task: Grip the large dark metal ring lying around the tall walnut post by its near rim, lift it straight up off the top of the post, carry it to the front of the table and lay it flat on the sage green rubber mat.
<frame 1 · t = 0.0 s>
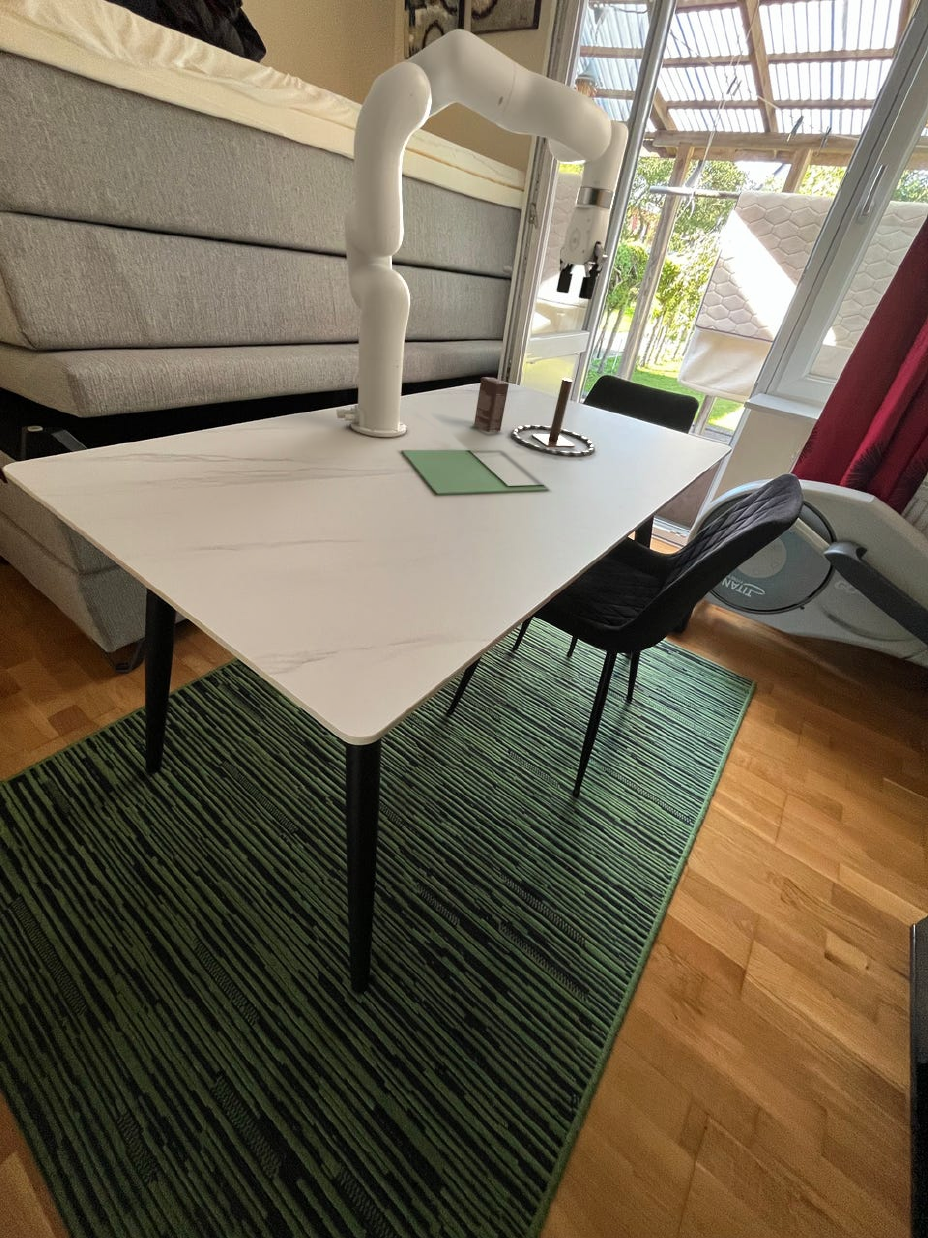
hand: (573, 295, 120), 31 cm above the table, tool pointing down, fingers open, 9 cm apart
post: (552, 444, 130), on the table
ring: (552, 441, 129), point 1 cm above the table
box: (486, 431, 132), on the table
mat: (472, 470, 107), on the table
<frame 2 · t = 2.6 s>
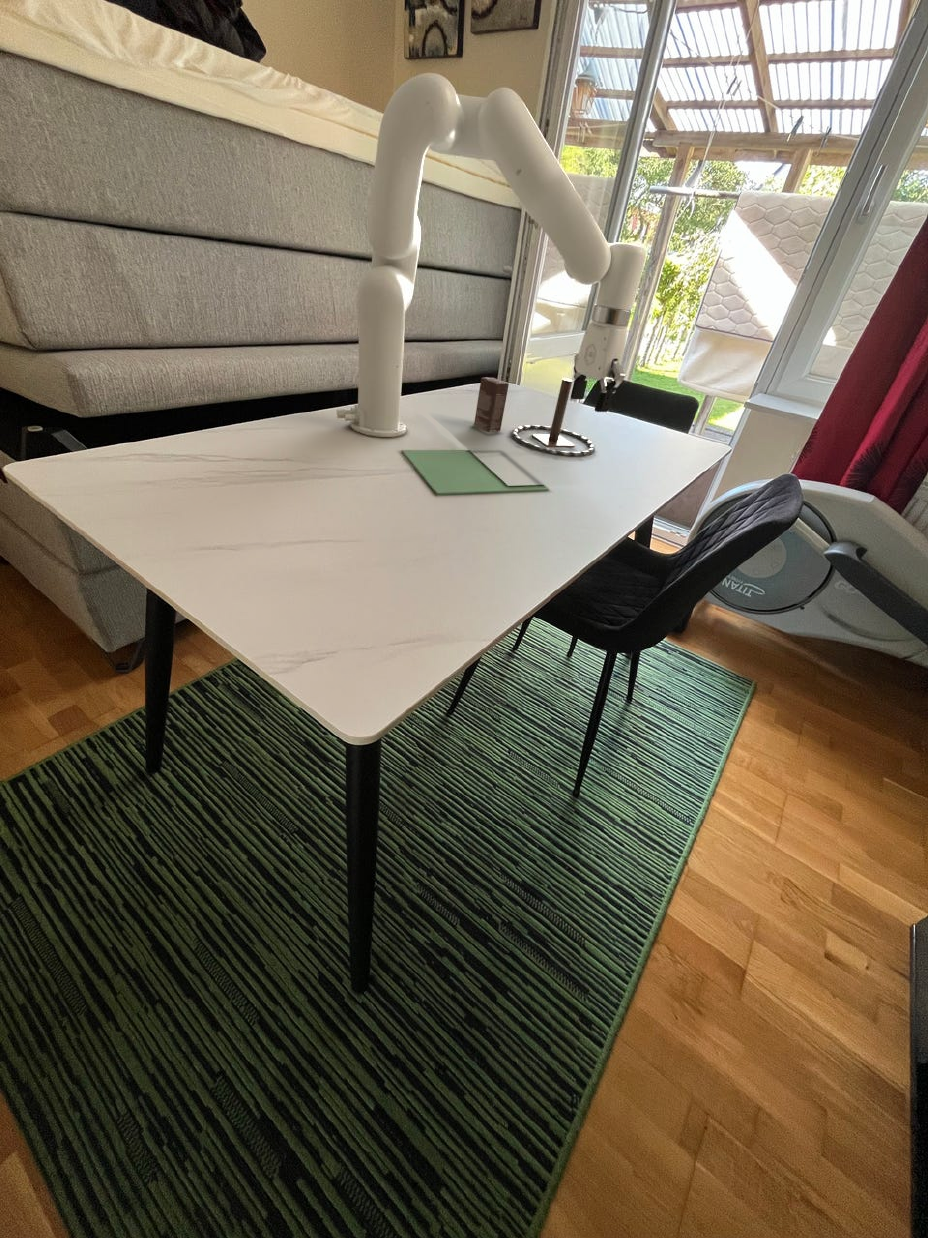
hand: (588, 404, 115), 12 cm above the table, tool pointing down, fingers open, 9 cm apart
nothing on the table moved.
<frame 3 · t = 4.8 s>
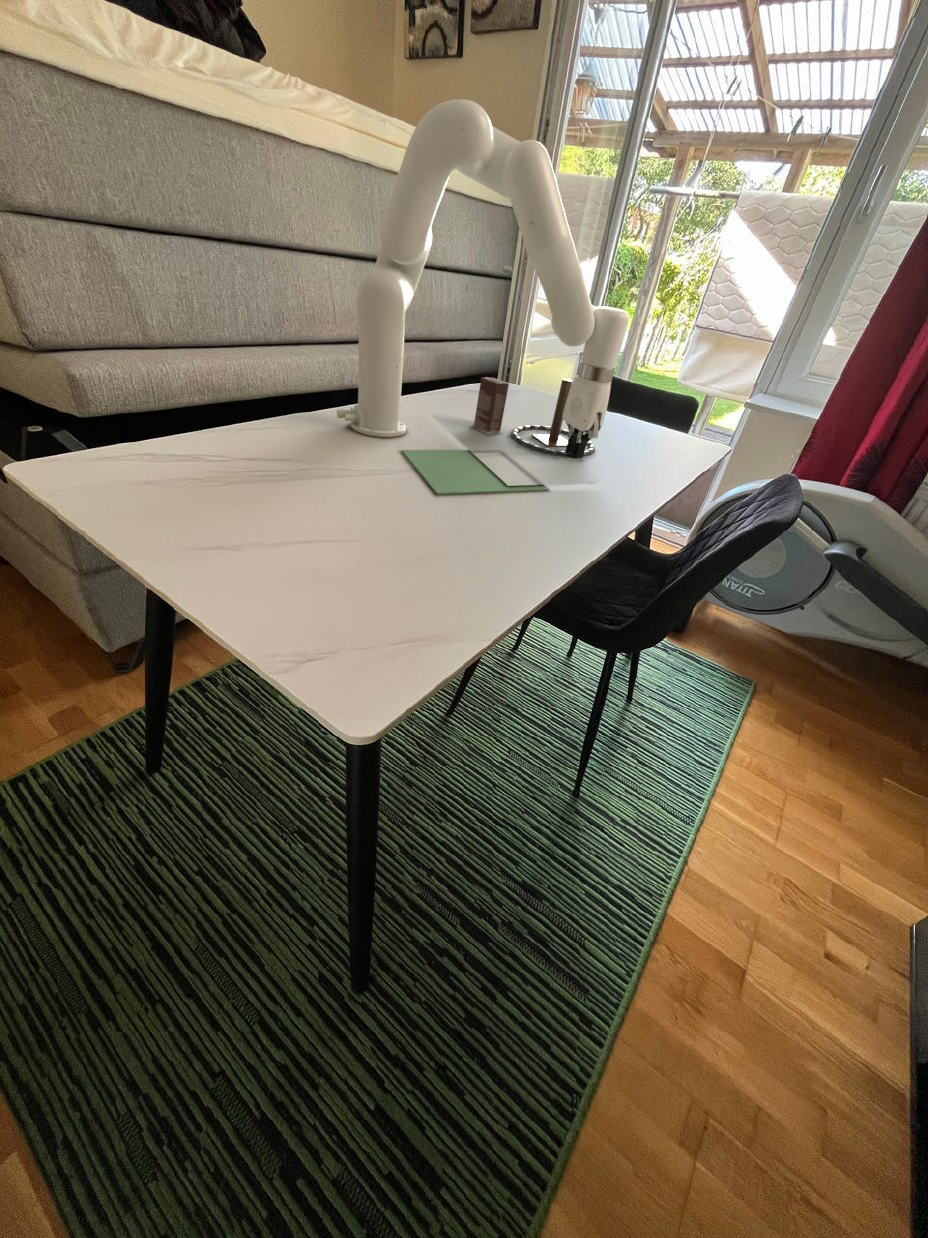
hand: (573, 456, 122), 1 cm above the table, tool pointing down, fingers closed on ring, 1 cm apart
ring: (552, 441, 129), point 1 cm above the table, touching gripper
everything else where it was.
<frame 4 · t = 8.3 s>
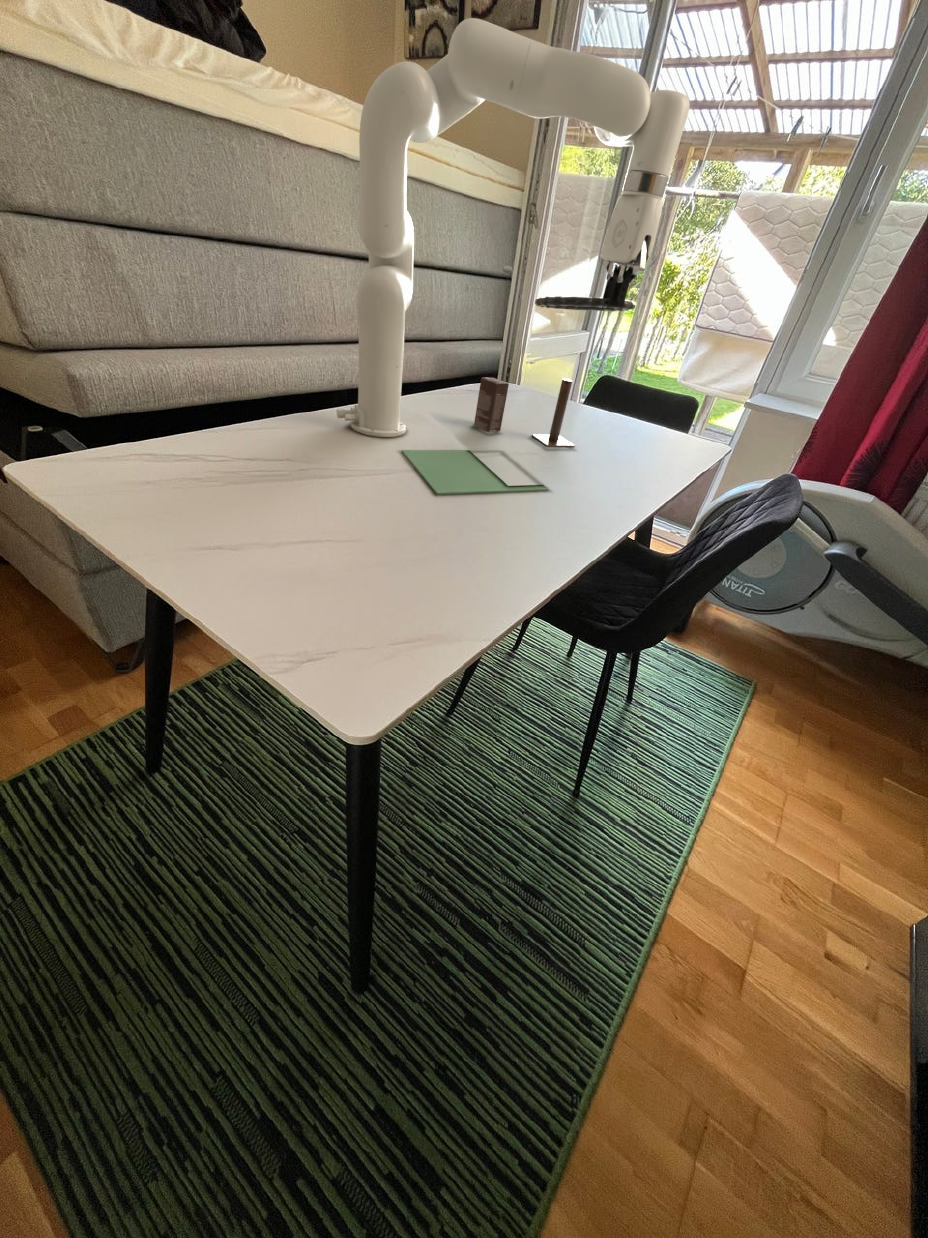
hand: (612, 304, 104), 32 cm above the table, tool pointing down, fingers closed on ring
ring: (584, 304, 112), point 31 cm above the table, tilted 9°, touching gripper
everything else where it was.
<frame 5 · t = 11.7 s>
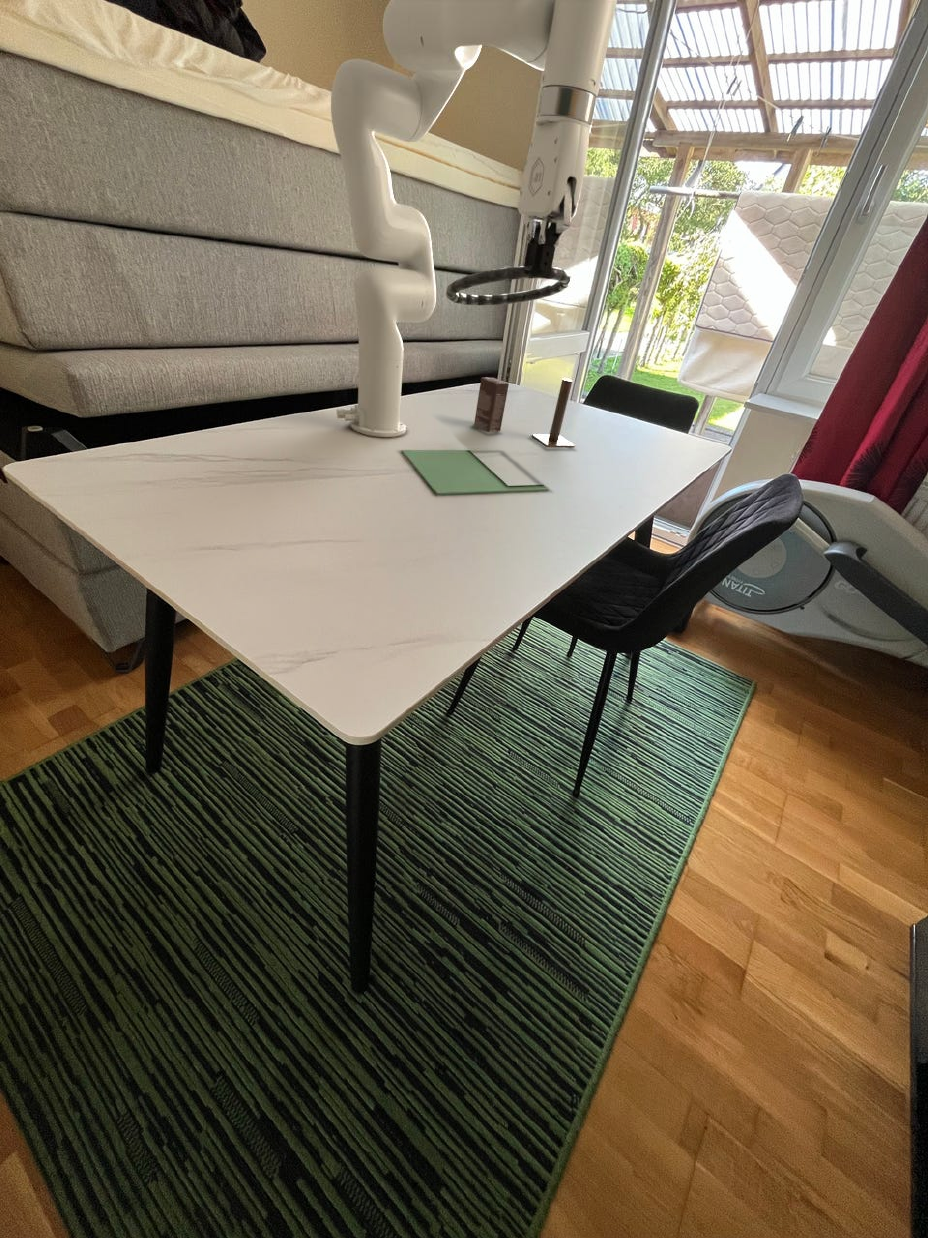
hand: (536, 275, 80), 35 cm above the table, tool pointing down, fingers closed on ring
ring: (507, 287, 88), point 33 cm above the table, tilted 19°, touching gripper
everything else where it was.
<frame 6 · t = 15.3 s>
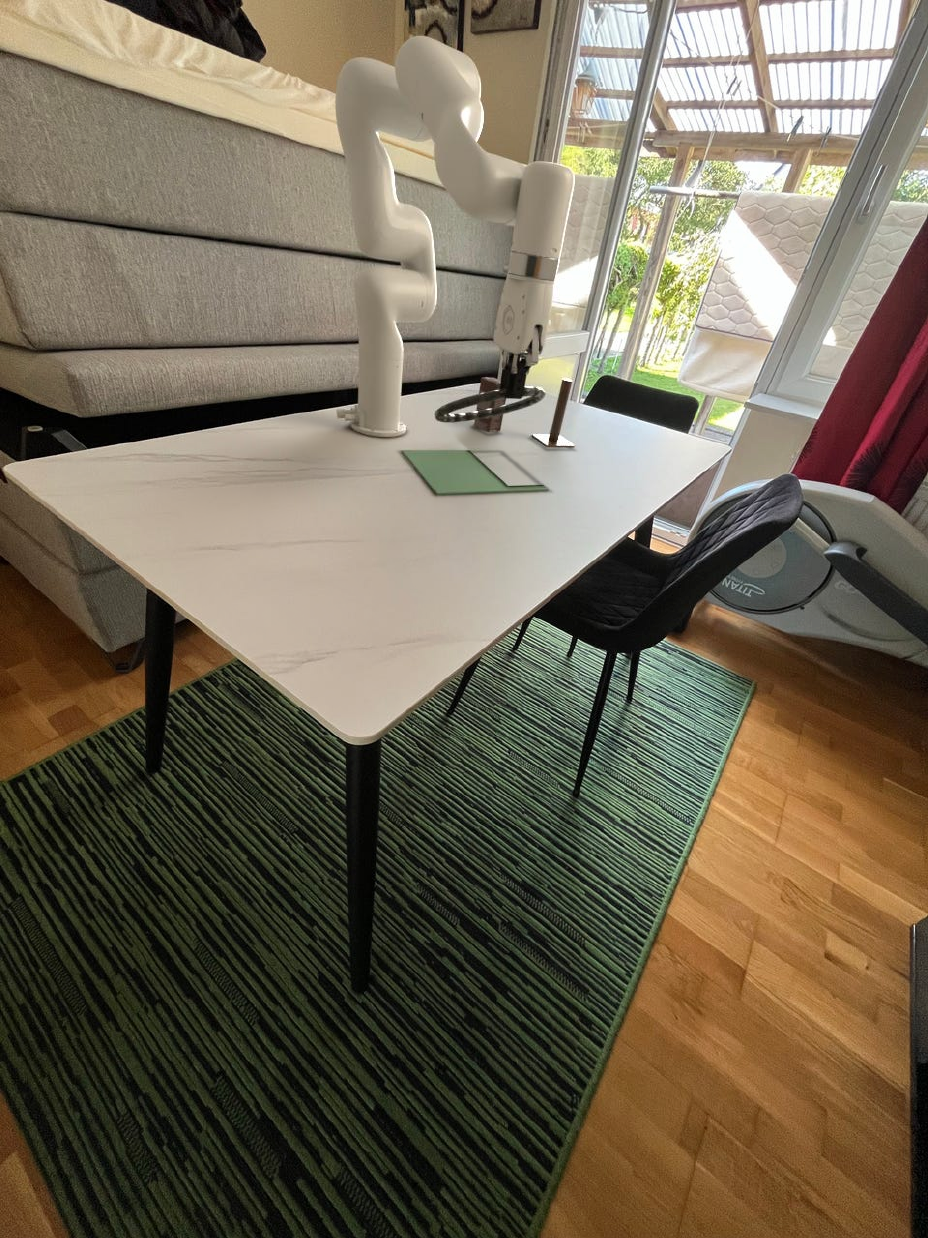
hand: (510, 395, 90), 18 cm above the table, tool pointing down, fingers closed on ring
ring: (489, 405, 99), point 13 cm above the table, tilted 29°, touching gripper
everything else where it was.
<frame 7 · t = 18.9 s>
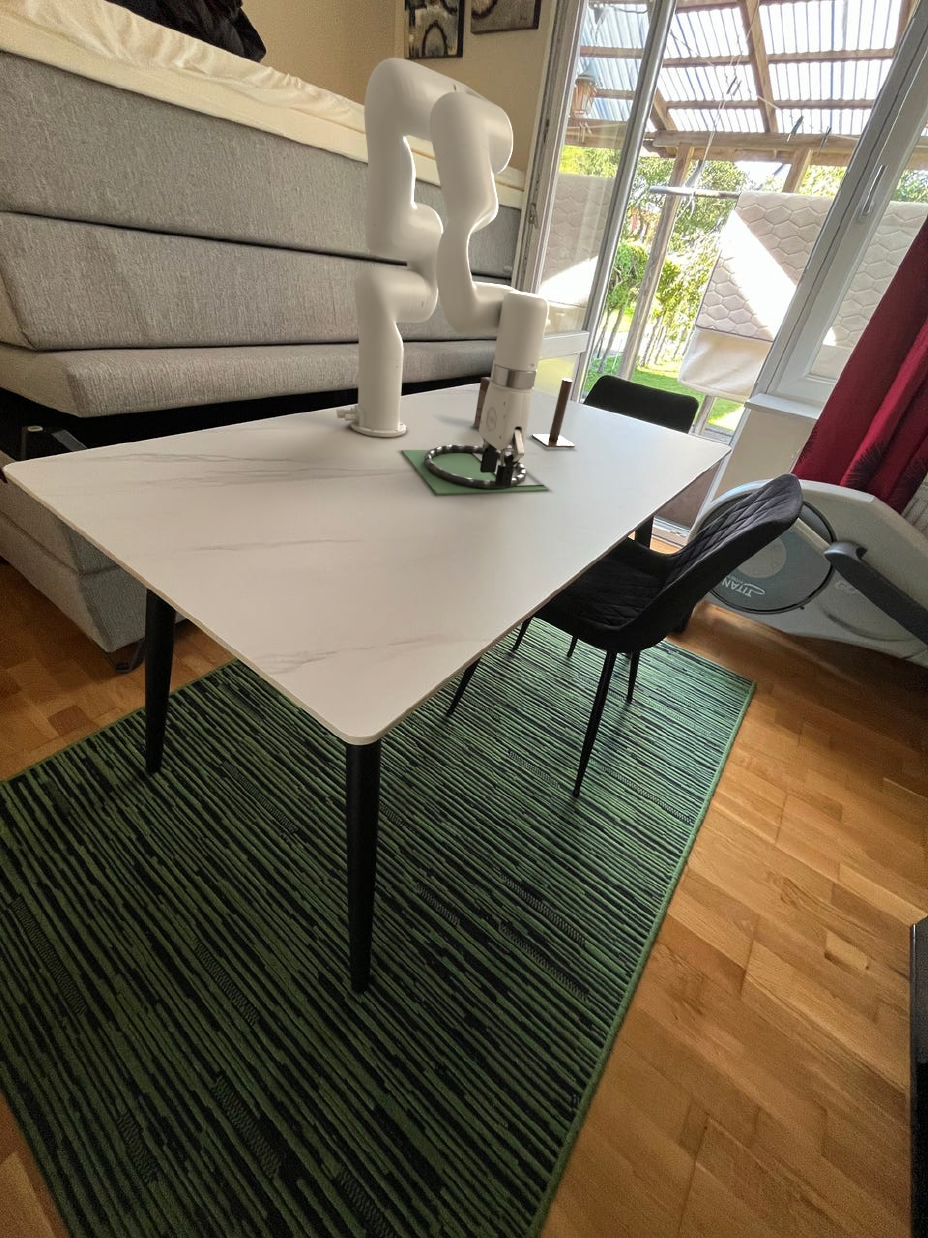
hand: (494, 477, 99), 3 cm above the table, tool pointing down, fingers open, 5 cm apart
ring: (475, 465, 106), point 1 cm above the table, touching mat
everything else where it was.
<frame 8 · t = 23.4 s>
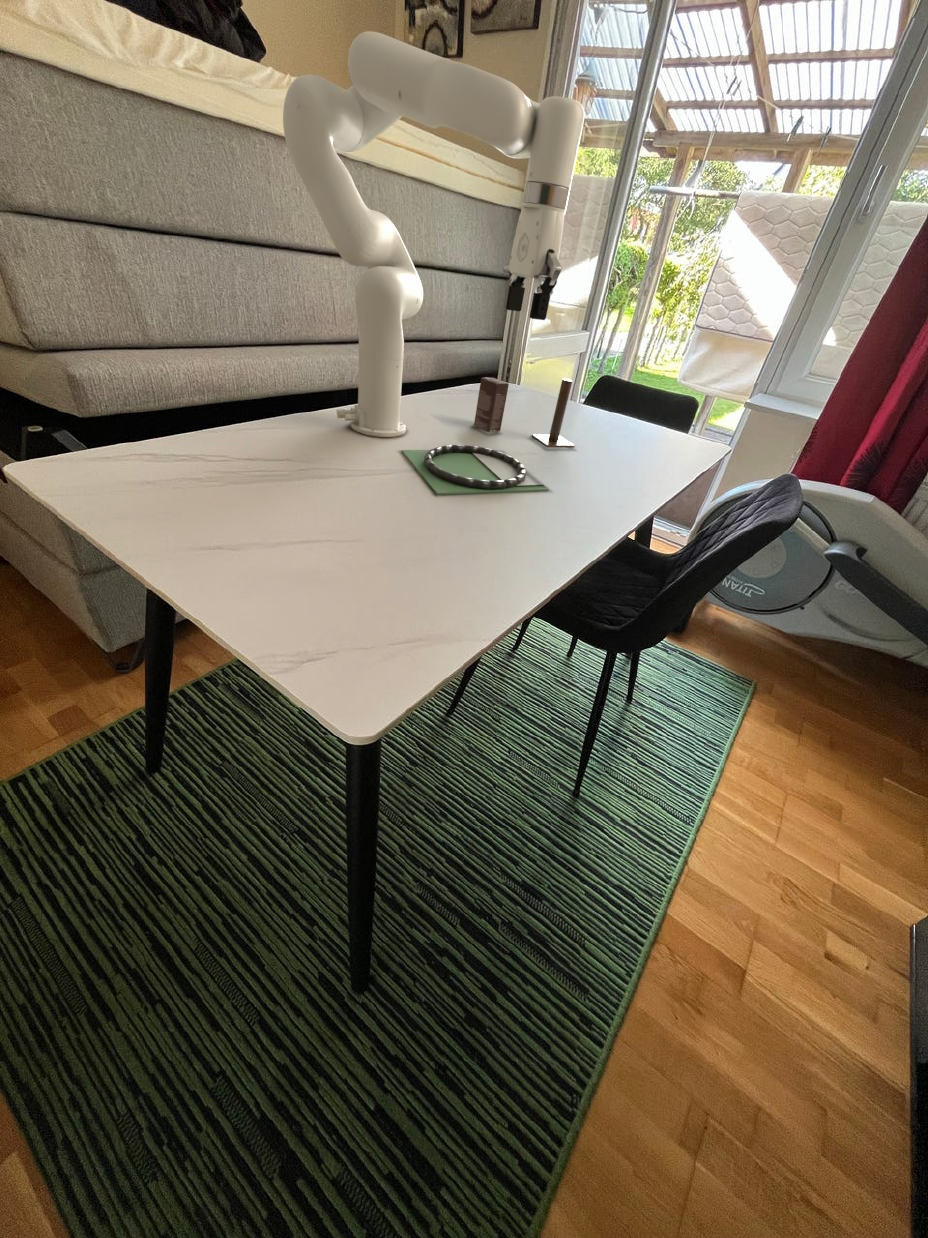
hand: (524, 314, 98), 28 cm above the table, tool pointing down, fingers open, 9 cm apart
nothing on the table moved.
at the end: ring inside the target area on the mat (0.4 cm from its centre), point 1.2 cm above the mat's base; ring touching mat; the gripper is holding nothing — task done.
